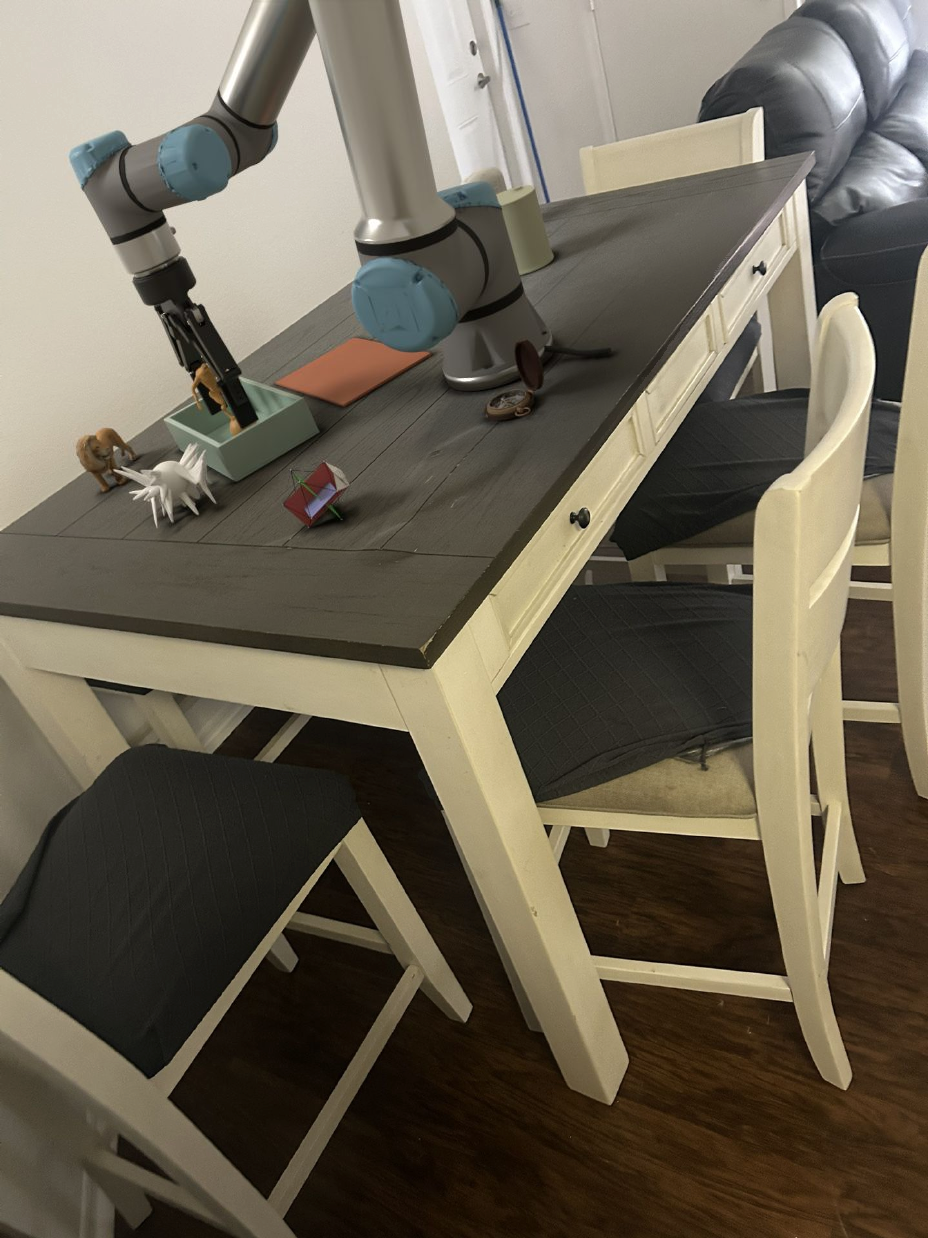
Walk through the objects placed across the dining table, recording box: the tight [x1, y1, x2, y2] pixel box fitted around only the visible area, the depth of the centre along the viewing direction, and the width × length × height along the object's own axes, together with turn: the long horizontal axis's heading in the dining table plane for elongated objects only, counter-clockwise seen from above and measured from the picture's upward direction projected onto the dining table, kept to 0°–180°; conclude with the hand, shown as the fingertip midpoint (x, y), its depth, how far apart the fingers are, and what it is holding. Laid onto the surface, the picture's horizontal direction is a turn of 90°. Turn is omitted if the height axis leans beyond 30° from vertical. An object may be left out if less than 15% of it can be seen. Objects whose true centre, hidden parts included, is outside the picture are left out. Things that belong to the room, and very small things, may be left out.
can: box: [496, 184, 555, 276], centre depth 154 cm, size 9×9×12 cm
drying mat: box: [275, 337, 432, 408], centre depth 144 cm, size 24×16×1 cm, turn 36°
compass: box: [484, 339, 545, 421], centre depth 110 cm, size 8×8×7 cm
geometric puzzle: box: [281, 460, 351, 529], centre depth 104 cm, size 7×7×8 cm
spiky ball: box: [114, 443, 218, 529], centre depth 118 cm, size 11×12×8 cm
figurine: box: [190, 363, 257, 436], centre depth 131 cm, size 8×6×12 cm
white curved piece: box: [458, 166, 508, 194], centre depth 174 cm, size 10×4×12 cm, turn 134°
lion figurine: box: [75, 427, 138, 493], centre depth 137 cm, size 15×5×9 cm, turn 13°
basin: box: [163, 376, 320, 483], centre depth 133 cm, size 23×14×5 cm, turn 36°
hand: (234, 417), depth 132 cm, fingers open, 11 cm apart
